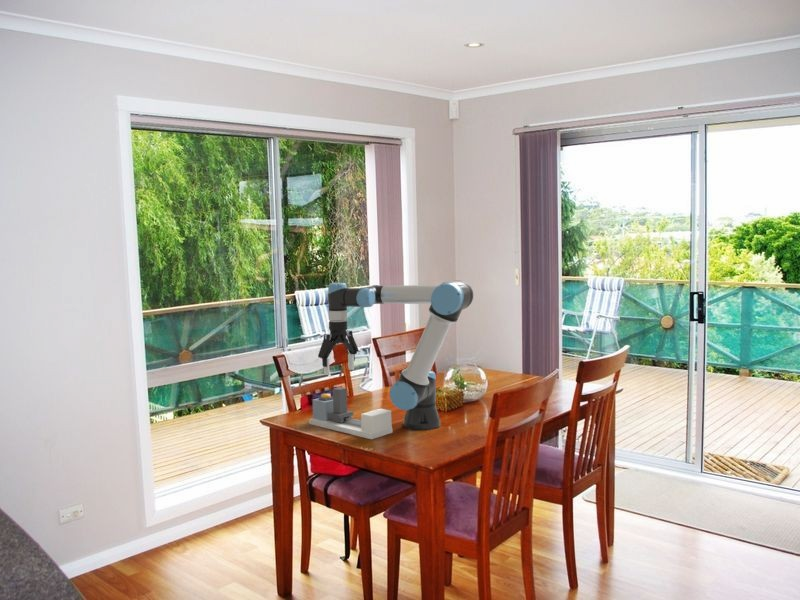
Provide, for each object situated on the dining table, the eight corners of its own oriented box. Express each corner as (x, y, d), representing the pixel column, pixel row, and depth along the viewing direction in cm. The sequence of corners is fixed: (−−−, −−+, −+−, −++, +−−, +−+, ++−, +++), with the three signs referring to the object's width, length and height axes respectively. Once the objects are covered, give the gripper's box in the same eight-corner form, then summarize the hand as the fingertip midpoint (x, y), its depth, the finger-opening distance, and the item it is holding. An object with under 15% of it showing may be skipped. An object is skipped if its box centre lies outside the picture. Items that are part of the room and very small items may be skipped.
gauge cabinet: (340, 417, 305) (339, 398, 305) (325, 421, 299) (325, 402, 299) (327, 414, 311) (326, 396, 310) (313, 418, 305) (312, 399, 304)
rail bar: (372, 427, 289) (372, 422, 288) (369, 428, 287) (369, 423, 287) (334, 418, 303) (334, 414, 303) (331, 419, 302) (331, 415, 301)
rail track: (392, 432, 289) (392, 410, 288) (371, 439, 280) (371, 416, 279) (330, 418, 312) (330, 397, 311) (309, 423, 303) (309, 402, 302)
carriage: (353, 419, 300) (352, 387, 299) (339, 423, 294) (338, 391, 293) (341, 416, 305) (340, 385, 303) (327, 420, 299) (326, 388, 297)
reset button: (333, 406, 305) (333, 394, 304) (325, 407, 302) (325, 396, 301) (326, 404, 307) (326, 393, 307) (319, 406, 304) (318, 394, 304)
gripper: (353, 317, 307) (354, 366, 309) (308, 323, 289) (309, 375, 291) (366, 318, 302) (367, 368, 304) (320, 324, 284) (322, 377, 286)
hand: (339, 372), depth 297 cm, fingers open, 13 cm apart
